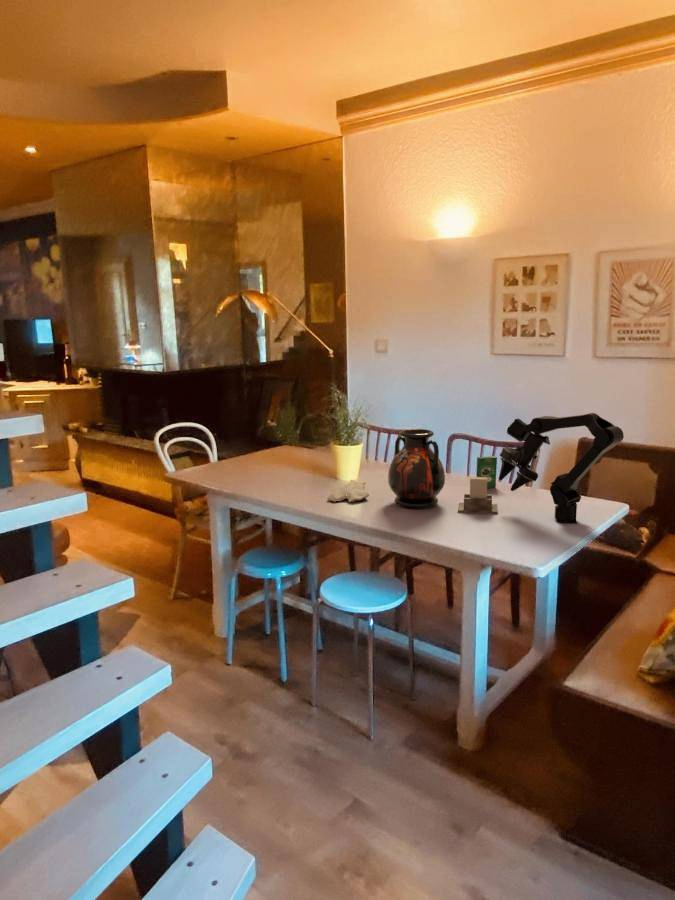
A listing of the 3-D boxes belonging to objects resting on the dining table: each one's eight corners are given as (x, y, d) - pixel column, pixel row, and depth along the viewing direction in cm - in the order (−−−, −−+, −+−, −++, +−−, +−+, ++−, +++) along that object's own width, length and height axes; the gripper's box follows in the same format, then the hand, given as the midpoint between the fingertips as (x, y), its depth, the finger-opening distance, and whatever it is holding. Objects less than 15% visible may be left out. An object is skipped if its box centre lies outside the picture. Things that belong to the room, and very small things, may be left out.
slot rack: (497, 506, 248) (497, 493, 248) (497, 514, 239) (497, 501, 238) (458, 504, 251) (459, 492, 250) (457, 512, 242) (458, 499, 241)
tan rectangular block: (486, 506, 246) (487, 477, 244) (486, 508, 243) (487, 479, 241) (469, 505, 247) (470, 476, 245) (469, 508, 244) (470, 478, 242)
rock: (383, 494, 269) (353, 486, 277) (384, 484, 267) (354, 475, 276) (352, 511, 253) (321, 501, 261) (352, 500, 251) (321, 491, 260)
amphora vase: (376, 505, 253) (375, 432, 247) (409, 493, 269) (409, 424, 263) (424, 515, 239) (424, 439, 233) (455, 502, 255) (456, 430, 249)
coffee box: (493, 486, 277) (493, 455, 274) (496, 487, 274) (497, 456, 271) (475, 488, 274) (476, 457, 272) (478, 489, 272) (479, 458, 269)
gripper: (500, 430, 241) (477, 466, 245) (525, 449, 225) (500, 487, 228) (523, 442, 246) (500, 477, 249) (549, 462, 229) (524, 499, 232)
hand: (505, 485), depth 239 cm, fingers open, 9 cm apart
